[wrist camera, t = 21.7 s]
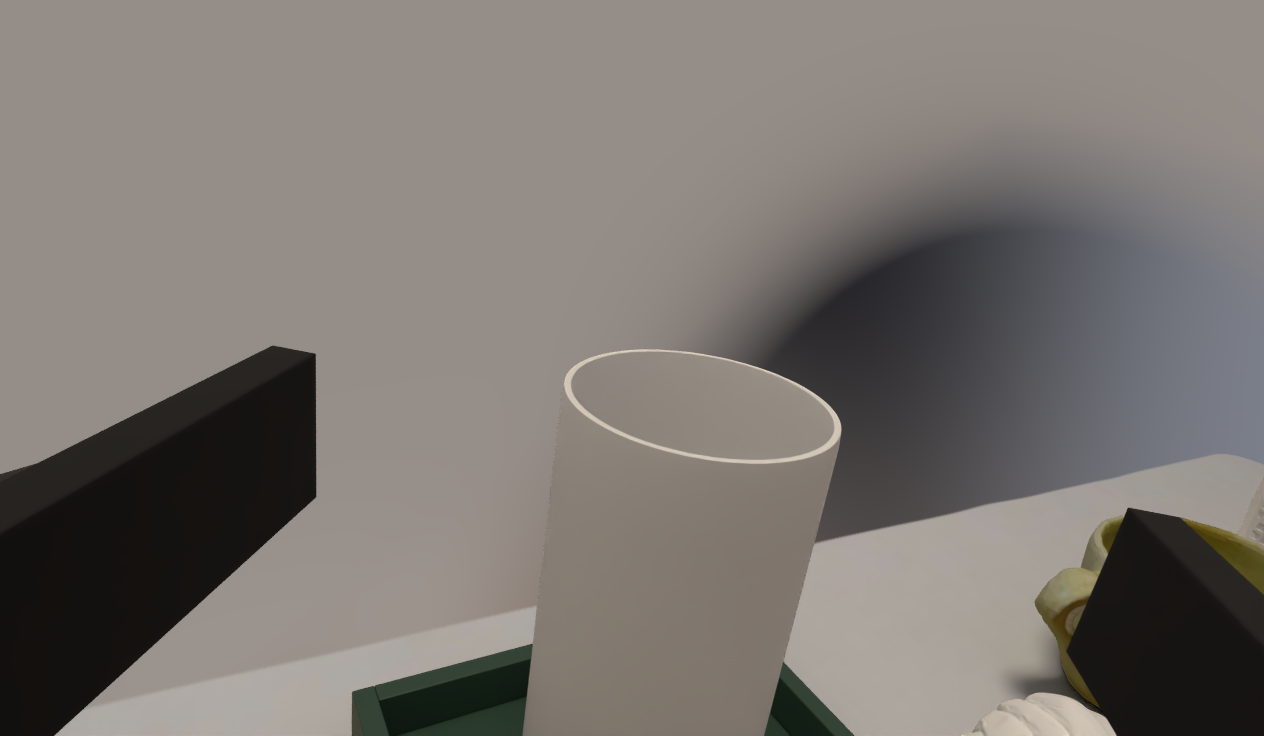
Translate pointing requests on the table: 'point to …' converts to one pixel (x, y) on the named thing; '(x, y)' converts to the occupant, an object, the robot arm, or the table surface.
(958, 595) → the table surface
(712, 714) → the cup
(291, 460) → the robot arm
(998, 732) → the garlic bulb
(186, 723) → the table surface
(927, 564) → the table surface
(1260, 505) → the skyscraper
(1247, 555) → the mug
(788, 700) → the tray
